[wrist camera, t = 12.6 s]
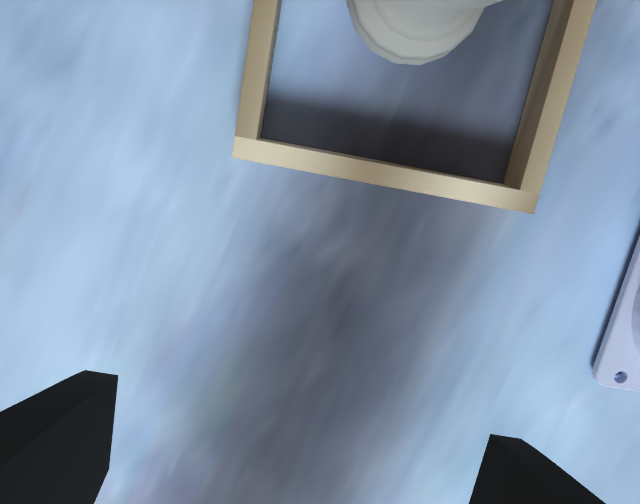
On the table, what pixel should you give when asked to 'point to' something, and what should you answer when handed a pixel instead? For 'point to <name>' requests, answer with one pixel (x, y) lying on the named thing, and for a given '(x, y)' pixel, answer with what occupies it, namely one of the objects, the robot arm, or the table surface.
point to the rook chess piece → (415, 26)
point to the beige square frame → (515, 193)
